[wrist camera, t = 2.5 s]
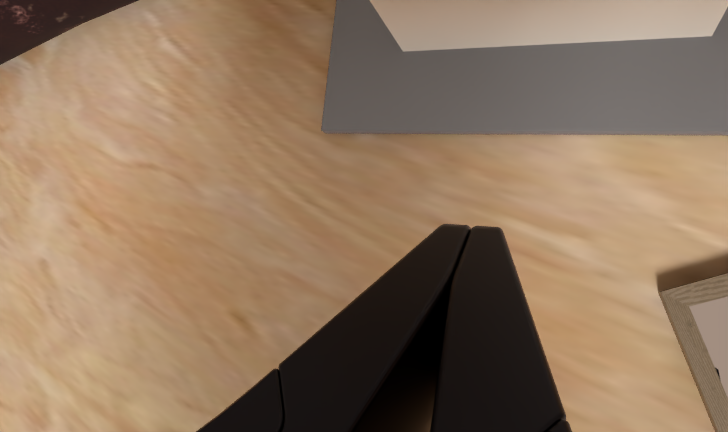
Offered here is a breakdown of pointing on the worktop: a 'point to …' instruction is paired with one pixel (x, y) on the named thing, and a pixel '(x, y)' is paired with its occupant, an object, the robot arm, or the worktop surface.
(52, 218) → the worktop surface
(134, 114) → the worktop surface
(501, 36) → the white rectangular block
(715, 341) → the picture frame
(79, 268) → the worktop surface
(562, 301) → the worktop surface
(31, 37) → the diary
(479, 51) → the mat
